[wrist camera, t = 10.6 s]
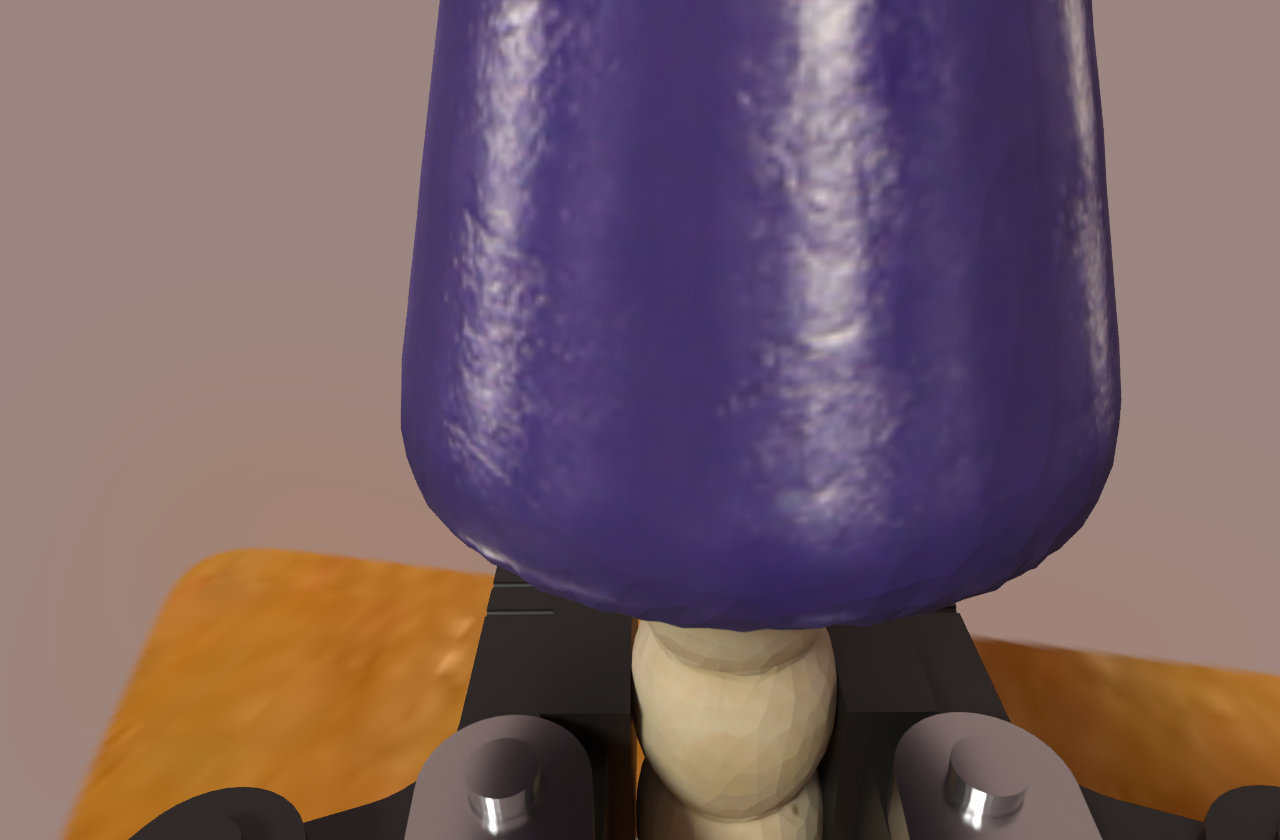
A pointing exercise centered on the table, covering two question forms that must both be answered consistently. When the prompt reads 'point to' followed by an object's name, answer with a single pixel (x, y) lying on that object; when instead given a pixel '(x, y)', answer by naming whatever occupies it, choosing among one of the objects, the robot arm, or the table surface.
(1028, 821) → the robot arm
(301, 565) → the table surface
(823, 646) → the toy lamp
